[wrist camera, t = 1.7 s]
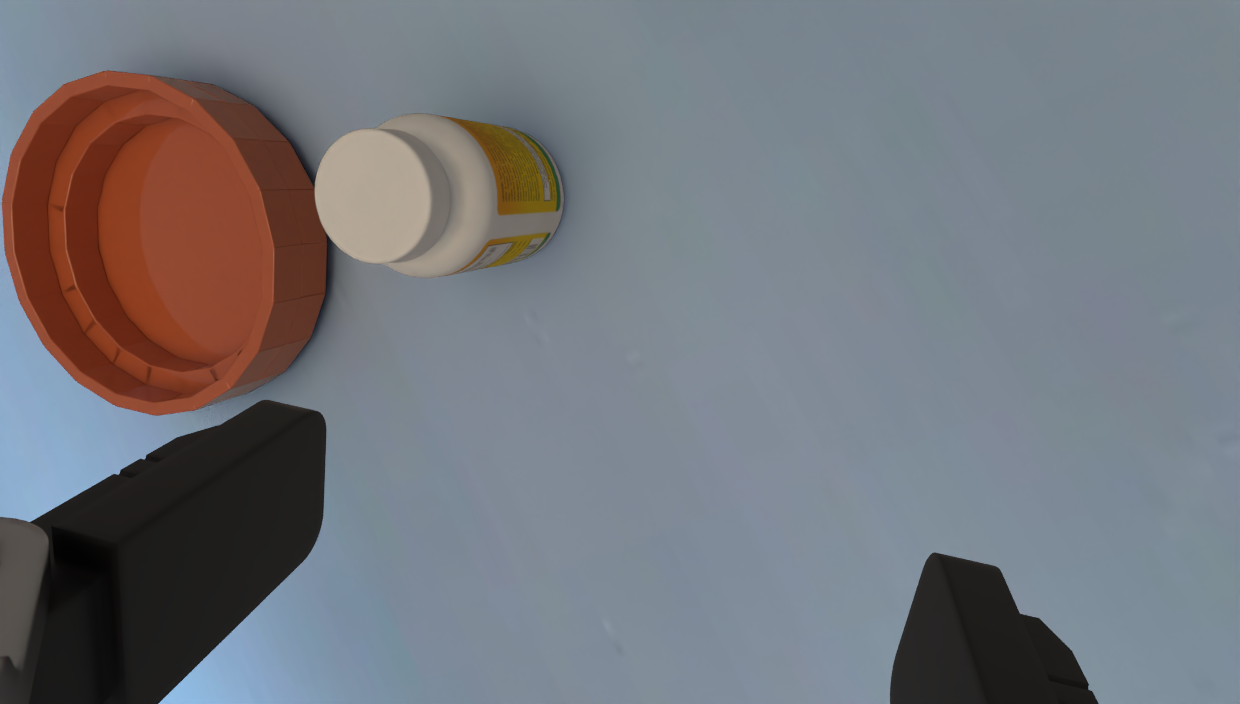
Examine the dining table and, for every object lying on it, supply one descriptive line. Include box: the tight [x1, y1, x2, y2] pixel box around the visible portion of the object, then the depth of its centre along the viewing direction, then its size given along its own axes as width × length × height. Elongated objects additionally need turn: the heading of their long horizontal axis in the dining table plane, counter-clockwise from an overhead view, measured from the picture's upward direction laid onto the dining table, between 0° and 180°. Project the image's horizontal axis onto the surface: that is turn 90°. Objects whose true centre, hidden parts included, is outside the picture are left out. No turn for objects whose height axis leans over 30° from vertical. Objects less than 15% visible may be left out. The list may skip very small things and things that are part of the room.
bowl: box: [2, 71, 327, 416], centre depth 37 cm, size 14×14×4 cm
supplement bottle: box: [315, 113, 564, 278], centre depth 29 cm, size 5×5×10 cm
